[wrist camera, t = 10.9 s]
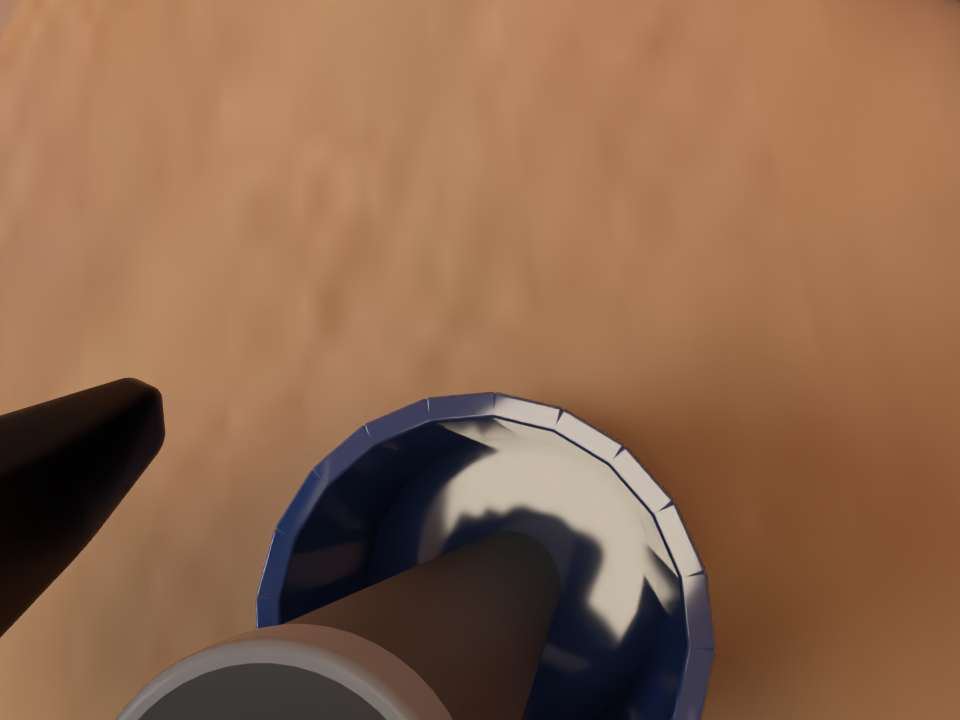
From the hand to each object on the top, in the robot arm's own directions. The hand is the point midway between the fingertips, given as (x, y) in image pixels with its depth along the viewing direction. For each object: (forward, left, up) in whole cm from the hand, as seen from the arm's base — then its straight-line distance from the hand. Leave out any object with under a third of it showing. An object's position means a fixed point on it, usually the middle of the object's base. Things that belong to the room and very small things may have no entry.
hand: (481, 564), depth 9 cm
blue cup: (-1, 0, -8) cm, 8 cm away
